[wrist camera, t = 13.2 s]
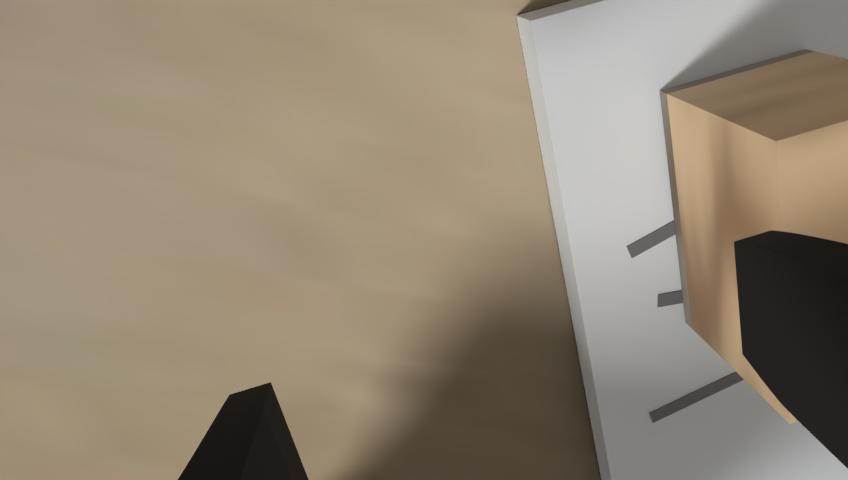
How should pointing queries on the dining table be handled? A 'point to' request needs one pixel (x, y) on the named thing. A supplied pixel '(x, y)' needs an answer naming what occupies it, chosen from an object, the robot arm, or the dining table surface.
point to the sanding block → (753, 178)
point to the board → (655, 228)
